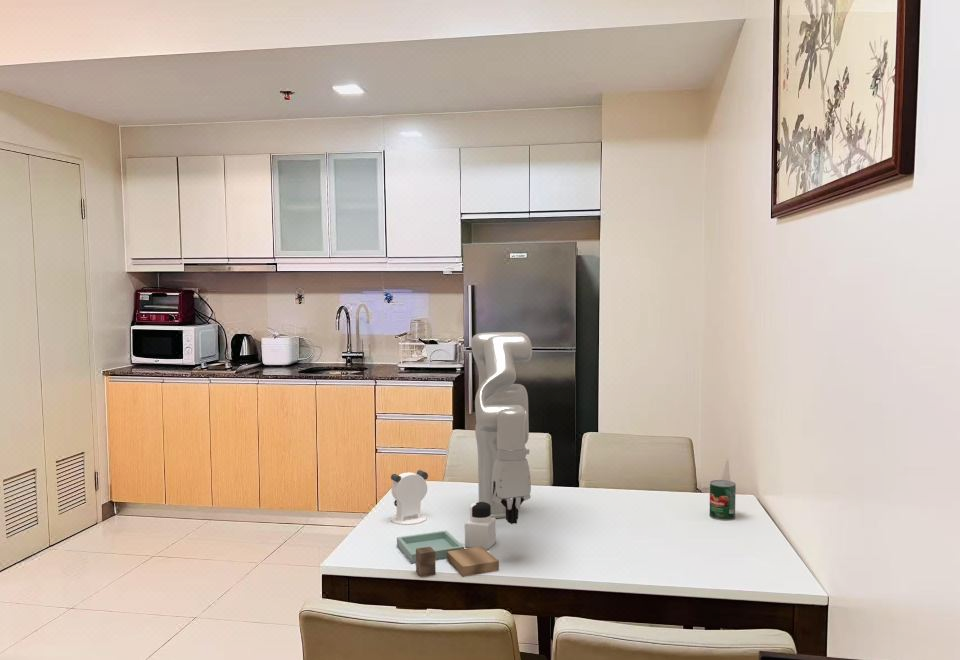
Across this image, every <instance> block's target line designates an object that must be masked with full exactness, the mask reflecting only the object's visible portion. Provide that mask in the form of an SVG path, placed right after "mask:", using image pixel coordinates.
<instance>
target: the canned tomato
mask: <svg viewBox="0 0 960 660" xmlns="http://www.w3.org/2000/svg"><path fill="white" fill-rule="evenodd" d="M736 485H737V484H736V482H734V481H731V480H725V479H713V480H710V481H709V515H708V516H709V517H710V518H711V519H714V520H716V521H732V520H736V519H735V518H736V495H737V493H736V491H737V490H736Z"/></svg>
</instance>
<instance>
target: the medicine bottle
mask: <svg viewBox="0 0 960 660" xmlns="http://www.w3.org/2000/svg"><path fill="white" fill-rule="evenodd" d="M496 519H497V518H491V505H490V504H488V503H486V502H479V501H476V502H473V503H471V504H470V505H469V519H468V520H467V521H465V522H464V548H473V547H480V546H481V547H483V548H484V549H485V550H486V551H488V550H489V549H490V548H492V547H493V545H494V544H495V543H496V542H497V534H496V533H497V532H496V531H497V528H496V526H497V525H496V522H497V520H496Z"/></svg>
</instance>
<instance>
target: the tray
mask: <svg viewBox="0 0 960 660" xmlns="http://www.w3.org/2000/svg"><path fill="white" fill-rule="evenodd" d="M396 546H397V548H398V549H399V550H400V551H401V553H402V554H403V555H404V556H405V558H407V560H408V561H409V562H410V563H411V565H413V564H416V549H417V548H424V547H431V548H432V549H433V550H434V551H435V561H438V560H439V559H440V560H447V551H454V550H460V549H465V545H463V544H462V543H460V542H459V541H458V540H457V539H456V538H455V537H454V536H453V535H452V534H451V533H449V532H448V530H440V531H432V532H425V533H420V534H419V533H418V534H412V535H411V534H410V535H403V536H397V537H396ZM440 560H439V561H440Z"/></svg>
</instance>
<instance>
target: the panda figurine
mask: <svg viewBox="0 0 960 660" xmlns="http://www.w3.org/2000/svg"><path fill="white" fill-rule="evenodd" d="M428 478H429V475H428V472H426V471H424V470H422V469H418V470H417V471H416V473H415V472H409V471H408V472H403V473H400V474H399V475H398V474H397V473H392V474H391V476H390V479H391V480H392V484H391V495H392V497H393V498H394V499H395V500H394V502H393V503H394V506H395V507H396V514H395V515H393V516H392V517H391V518H390V521H391V522H392V523H393V524H396V525H402V526H412V525H418V524H423V523H424V522H425V521H427V515H425V514H423V513H421V504H422V503H421V502H422V501H423V499H424V498H425V496H426V495H427V492H428V484H427V482H426V480H428Z"/></svg>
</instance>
